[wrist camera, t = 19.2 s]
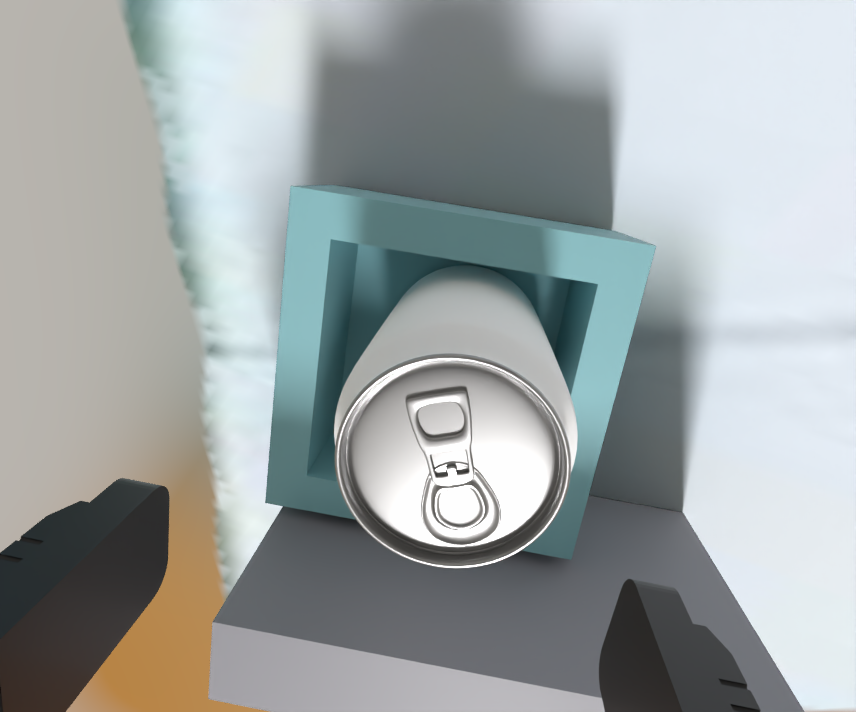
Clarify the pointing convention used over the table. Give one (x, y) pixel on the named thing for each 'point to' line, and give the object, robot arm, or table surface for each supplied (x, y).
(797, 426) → the table surface
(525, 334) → the can
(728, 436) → the table surface
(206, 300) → the table surface
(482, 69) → the table surface
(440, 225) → the socket block
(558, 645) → the wall board
